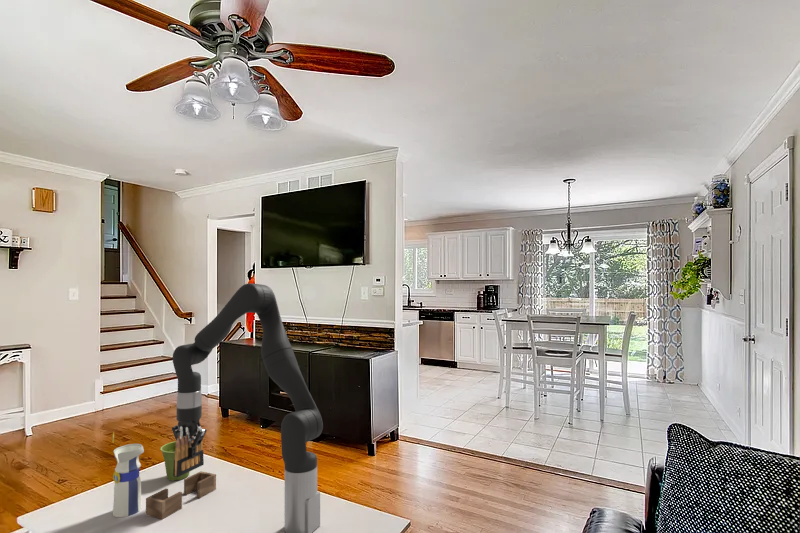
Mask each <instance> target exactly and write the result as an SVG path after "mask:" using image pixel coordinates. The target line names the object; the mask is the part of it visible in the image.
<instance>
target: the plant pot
mask: <svg viewBox="0 0 800 533" xmlns="http://www.w3.org/2000/svg"><path fill="white" fill-rule="evenodd" d="M175 450H176V440H175V441H172V442H168V443H166V444H164V445H162V446H161V447H160V451H161V453H162V456H163V460H164V467H165V471H166V479H167V480H168V481H171V482H172V481H173V482H174V481H177V480H178V481H179V480H180V481H181V480H184V479H186V478H188V477H189V476H190V472H188V473H185V474H183V475H181V476H179V477H174V476H173V468H174V460H175Z"/></svg>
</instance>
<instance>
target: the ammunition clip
mask: <svg viewBox="0 0 800 533" xmlns="http://www.w3.org/2000/svg"><path fill="white" fill-rule="evenodd" d="M191 437H192V436H191ZM179 439H180V437H179V438H177V441H176V440H175V441H176V450H175V460H174V468H173V476H174V477H179V476H181V475H183V474H185V473H188V472H189V473H190V472H191V471H193V470H196V469H198V468H200V467H202V466H204V462H205V461H204V449H203V441H202V442H201V444H200V445H197V446H196V455H195V457H194V458H192V459H188V448H189V447H188V441H187V435H186V437H185V445H184V437H183V436H182V438H181V442H180V441H179ZM192 443H193V440H192Z"/></svg>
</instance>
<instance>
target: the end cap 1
mask: <svg viewBox="0 0 800 533" xmlns="http://www.w3.org/2000/svg"><path fill="white" fill-rule="evenodd" d="M182 505H183V492H182V491H178V492H176V493H175V494H172V495H170V496H169V488H164V489H162V490H160V491H158V492H156V493H154V494H152V495H150V496H148V497H146V498H145V515H146V516H148V517H152V518H156V519H159V520H164V519H166V518H167V517H169V516H171V515H173V514H174V513H176V512H177V511H180V510H181V509H183V506H182Z"/></svg>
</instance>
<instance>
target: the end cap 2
mask: <svg viewBox="0 0 800 533" xmlns="http://www.w3.org/2000/svg"><path fill="white" fill-rule="evenodd" d="M215 490H217V474H216V473H211V472H207V471H202V470H201V471H199V472H196V473H194V474H193V475H189V476H188V477H186V478H184V479H183V495H184V496H188V495H189V494H191V493H193V492H195V491H197V494H196V495H197V497H196V498H197V499H201V498H203V497H205V496H207V495H209V494H211V493H212V492H213V491H215Z"/></svg>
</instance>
